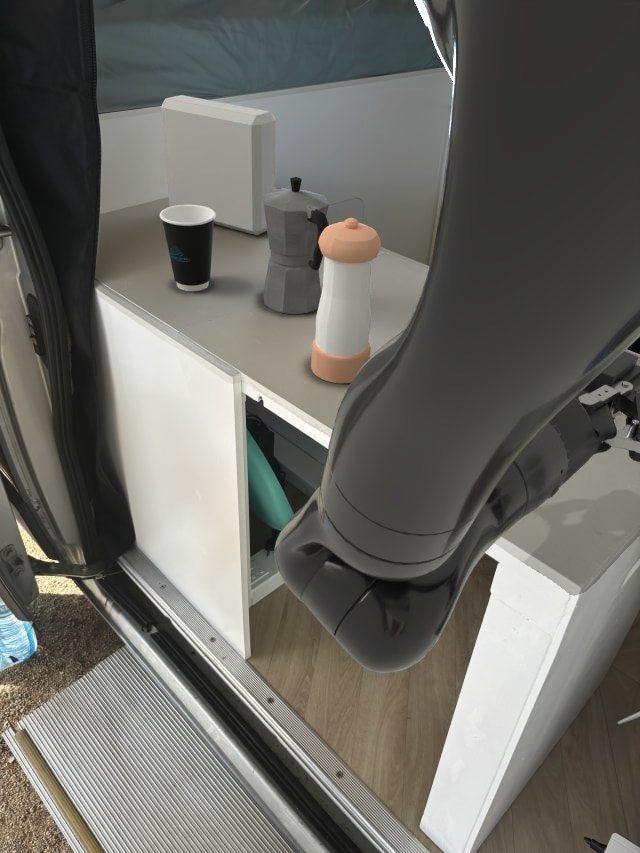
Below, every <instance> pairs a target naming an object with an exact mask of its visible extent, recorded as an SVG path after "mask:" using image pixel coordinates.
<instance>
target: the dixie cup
mask: <svg viewBox="0 0 640 853" xmlns="http://www.w3.org/2000/svg"><path fill="white" fill-rule="evenodd" d="M215 217H216V214H215V212H214V211H213V210H212V209H210V208H208V207H204V206H199V205H177V206H172V207H170V206H169V207H166V208H164V209H162V210H161V211H160V212H159V218H160V220H162V226H163V231H164V235H165V240H166V245H167V249H168V255H169V259H170V263H171V269H172V274H173V278H174V281H175V282H176V286H177V288H178V289H180V290H181V291H186V292H199V291H204V290H205V289H207V288H208V287H209V285H210V284H209V282H210V280H211V275H212V274H211V273H212V256H213V240H214V239H213V238H214V225H215V224H214V218H215Z"/></svg>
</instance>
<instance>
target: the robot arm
mask: <svg viewBox="0 0 640 853" xmlns="http://www.w3.org/2000/svg"><path fill="white" fill-rule="evenodd" d="M414 3H415V4H416V6H417V8H418V11H419V13H420V15H421V17H422V19H423V21H424V24H425V26H426V28H427V30H428V32H429V34H430V35H431V38H432V41H433V44H434V47H435V49H436V51H437V54H438V56H439V57H440V59H441V62H442V63H443V66H444V67H445V70H446V71H447V72H448V75H449V76H450V78H451V81H453V82H452V83H453V84H452V100H451V112H450V121H449V130H448V131H449V132H448V142H447V150H446V151H447V153H446V160H445V167H444V168H445V169H444V176H443V184H442V192H441V200H440V208H439V214H438V219H437V225H436V231H435V232H436V233H435V237H434V240H435V241H434V245H433V250H432V254H431V259H430V263H429V267H428V271H427V274H426V277H425V281H424V284H423V287H422V291H421V293H420V295H419V298H418V301H417V303H416V306H415V309H414V311H413V313H412V315H411V317H410V319H409V320H408V322H407V324H406V325H405V326H404V328H403V330H401V331H400V332H399V333H398V334H396V335H395V336H393V337H392V338H391V339H390V340H388V341H387V342H385V344H384V345H382V346H381V347H379V348H378V349H377V350H376V351H375V352H373V354H372V355H370V358H369V359H368V361H367V362H366V363H365V364H364V365H363V366H362V367H361V368H360V370H359V371H358V372H357V374H356V375H355V377H354V378H353V380H352V382H351V383H349V386H348V387H347V389H346V391H345V394H344V395H343V398H342V399H341V402H340V405H339V407H338V410H337V412H336V416H335V419H334V423H333V427H332V431H331V435H330V439H329V443H328V447H327V451H326V456H325V459H324V460H325V461H324V465H323V468H322V469H323V470H322V474H321V478H320V482H319V483H318V485H317V487H316V488H315V489H314V491H313V492H312V494H311V496H310V497H309V499H308V500H307V501H306V502H305V503H304V504H303V505H302V506H301V507H300V508H299V509H298V510H297V511H296V512H295V513H294V514H293V515H292V516H291V517H290V518H289V519H288V520H287V522H286V523H285V524H284V526H283V527H282V529H281V530H280V532H279V534H278V536H277V538H276V541H275V544H274V552H273V553H274V561H275V564H276V567H277V571H278V574H279V575H280V577H281V579H282V581H283V582H284V583H285V584H284V585H286V587H287V588H288V589H289V590H290V591H291V593H292V594H293V595H294V596H295V597H296V598H297V599H298V601H300V602H301V604H303V605H304V607H305V608H306V610H308V611H309V613H311V614H312V616H313V617H314V618H315V619H316V621H318V622H319V624H321V626H322V627H323V628H325V630H326V631H327V632H328V633H329V634H330V635H331V637H333V638H334V640H335V641H336V642H337V643H338V645H339V646H340V647H341V648H342V649H343V650H344V651H345V652H346V653H347V654H348V656H349V657H350V658H351V659H352V660H353V661H354V663H356V664H357V665H359V666H360V667H362V668H363V669H365V670H366V671H369V672H371V673H376V674H392V673H397V672H402V671H404V670H407V669H408V668H411V667H413V666H414V665H416V664H417V663H419V662H420V661H421V660H422V659H424V658H425V657H426V655H427V654H428V653H429V652H430V651H431V650H432V649H433V647H434V646H435V645H436V643H437V642H438V641H439V639H440V637H441V636H442V633H443V632H444V630H445V628H446V626H447V625H448V623H449V621H450V619H451V617H452V615H453V612H454V610H455V608H456V605H457V603H458V602H459V599H460V597H461V593H462V592H463V589H464V588H465V585H466V584H467V582H468V579H469V577H470V576H471V574H472V572H473V571H474V569H475V567H476V565H477V564H478V563H479V561H480V560H481V559H482V558H483V557H484V555H485V554H486V553H487V552H488V550H489V549H490V548H491V547H492V546H493V545H494V544H495V543H496V542H497V541H498V540H499V539H500V538H501V537H502V536H503V535H504V534H505V533H507V532H508V531H509V530H510V529H511V528H513V526H514V525H515V524H516V523H518V522H519V521H520V520H522V519H524V517H526V516H528V515H530V513H532V512H534V511H535V510H537V509H538V508H539V507H540V506H542V505H543V504H544V503H545V502H546V501H548V500H549V499H551V498H553V497H554V496H555V495H556V494H557V493H558V492H559V490H560V488H561V487H562V486H563V485H564V484H565V483H567V481H569V480H570V479H571V478H572V477H573V476H574V475H575V474H576V473H577V472H578V471H579V470H581V468H582V467H584V466H585V465H586V464H587V462H589V460H590V459H591V458H593V457H594V455H596V454H600V453H605V452H608V451H609V450H610V449H611V448H612V447H613V448H617V449H618V448H619V449H621V450H626V451H628V457H629V458H630V459H631V460H633V461H635V462H637V463H640V365H639V364H636V365H635V367H633V368H632V369H631V370H630V371H629V372H627V373H626V374H625V375H624V376H623V377H621V378H620V379H619V381H618V382H617V383H615V384H613V385H611V386H609V385H607V384H606V385H604V386H602V387H600V388H598V389H596V390H595V391H593V392H588V391H585V390H583V389H584V388H585V387H587V386H588V385H589V384H590V383H591V382H592V381H593V380H594V379H595V378H596V377H597V376H598V375H600V374H601V373H602V372H603V371H604V370H605V369H606V368H607V367H608V366H609V365H610V364H611V363H613V362H614V361H615V360H616V359H617V358H618V357H619V356H620V355H621V354H622V353H623V352H624V351H625V352H626V350H627V349H628V348H630V347H631V346H632V345H633V344H634V343H635V342H636V341H637V340H638V339H639V338H640V0H414ZM621 414H624V415H625V417H626V418H625V425H624V427H623V429H619V430H618V428H617V426H616V422H615V419H614V420H613V418H614V417H615V418H616V417H618V416H619V415H621Z"/></svg>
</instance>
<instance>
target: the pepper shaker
mask: <svg viewBox="0 0 640 853" xmlns="http://www.w3.org/2000/svg"><path fill="white" fill-rule="evenodd" d="M318 243H319V247H320V250H321V252H322V254H323V257H324V259H323V260H324V261H323V262H324V264H323V276H322V288H321V298H320V302H319V307H318V308H317V310H316V311H317V312H316V316H315V337H314V339H313V341H312V344H311V360H310V368H311V371H312V373H313V374H314V375H315V376H316V377H318V378H319V379H321V380H323V381H326V382H328V383H335V384H351V382H352V380H353V378H354V377H355V375H356V374H357V372H358V371H359V370H360V368H361V367H362V366H363V365H364V364H365V363H366V362H367V361H368V359H369V358H370V357H371V349H372V347H371V344H370V342H369V339H370V332H371V325H372V313H371V312H372V310H371V295H370V290H371V289H370V288H371V279H372V268H373V260H374V259H376V258H377V256H378V255H379V252H380V251H381V248H382V241H381V239H380V236H379V235H378V232H377V231H376V230H375V229H374V228H373V227H371V226H369V225H367V224H364V223H362V222H359V221H358V219H356V218H355V217H348V218H346V219H345V220H344V221H339V222H336V223H335V222H334V223H332V224H329V226H327V227H326V228H325V229H324V230H323V232H322V233H321V235H320V238H319V241H318Z"/></svg>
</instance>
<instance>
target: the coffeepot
mask: <svg viewBox="0 0 640 853" xmlns="http://www.w3.org/2000/svg"><path fill="white" fill-rule="evenodd" d="M289 181H290V188H286V187H277V188H275V189H270V190H271V193H268V194H265V195H263V204H264V211H265V219H266V226H267V231H266V233H267V240H268V247H269V250H270V256H269V258H268V264H267V270H266V275H265V280H264V281H265V282H264V287H263V293H262V295H263V296H262V297H263V305H264V306H265V307H267V308H269V309H270V310H272V311H274V312H276V313H280V314H286V315H303V314H308V313H311V312H314V311H317V310H318V307H319V302H320V298H321V293H322V287H321V286H322V285H321V278H320V268H321V264H322V261H323V258H324V255H323V254H322V252H321V250H320V247H319V243H318V241H319V238H320V235H321V233H322V232H323V230H324V229H325V228H326V227H327V226H329V225H330V223H329V220H328V217H327V216H328V210H329V207H330V205H329V202H328V199H327V197H326V195H323V194H319V193H316V192H313V191H310V190H306V189H301V187H302V181H303V179H302V178H301V177H299V176H293V177H289Z"/></svg>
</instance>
